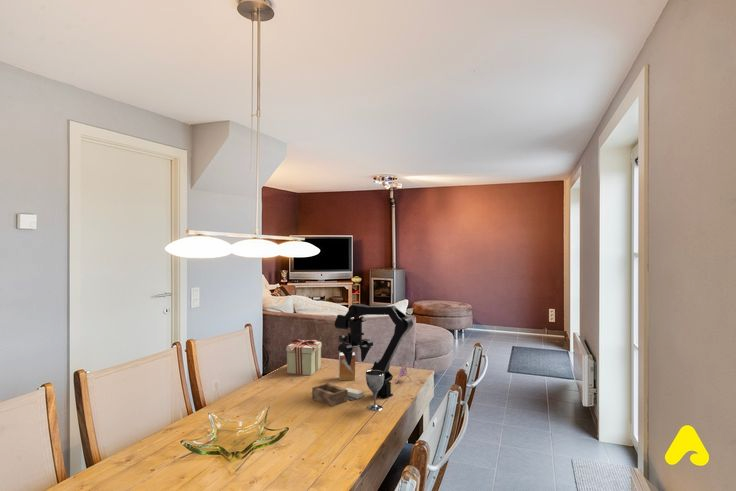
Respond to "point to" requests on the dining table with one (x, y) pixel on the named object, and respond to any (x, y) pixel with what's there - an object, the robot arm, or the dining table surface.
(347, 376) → the small box
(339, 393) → the rectangular frame
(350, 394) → the block
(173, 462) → the dining table surface
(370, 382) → the wine glass
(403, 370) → the lily
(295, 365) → the gift box
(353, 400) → the mat
